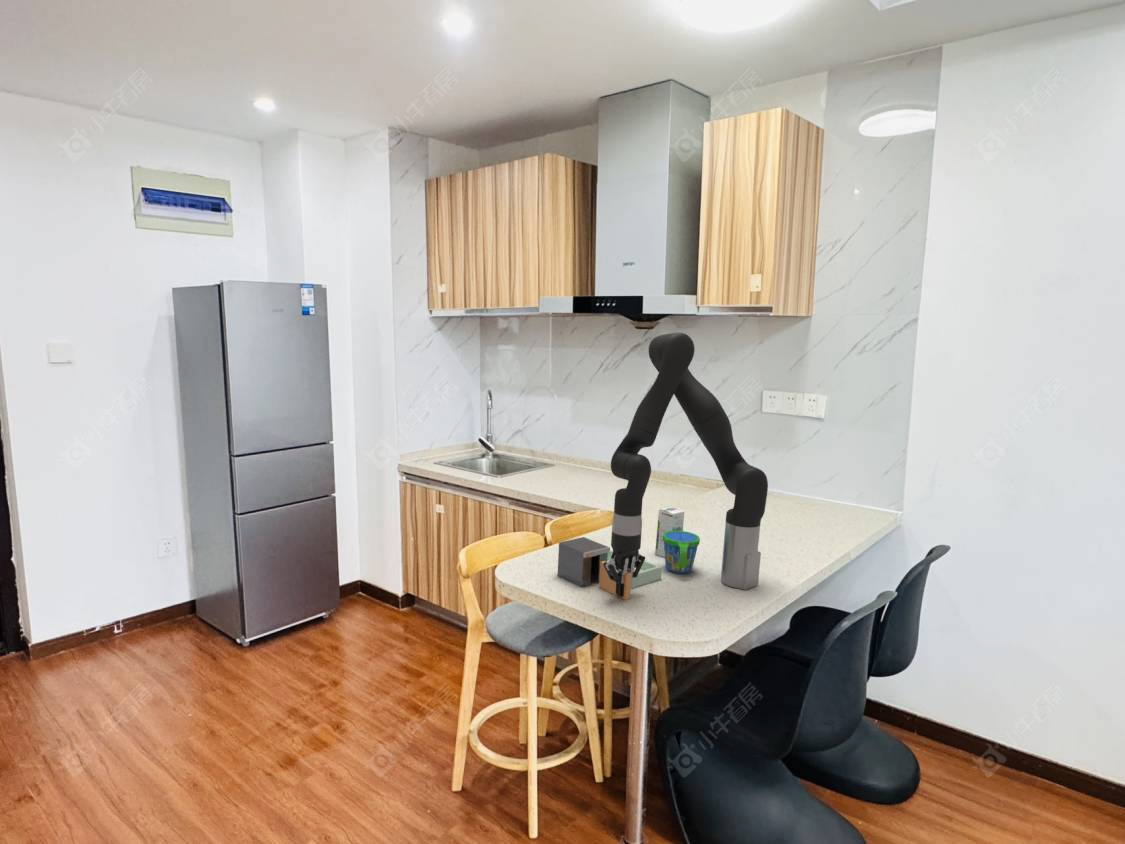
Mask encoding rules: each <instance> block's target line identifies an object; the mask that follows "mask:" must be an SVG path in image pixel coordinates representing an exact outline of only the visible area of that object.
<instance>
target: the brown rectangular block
mask: <svg viewBox="0 0 1125 844" xmlns="http://www.w3.org/2000/svg"><path fill="white" fill-rule="evenodd" d="M605 562H606V561H602V562H600V577H599V582H598V588H599V589H602V590H604V591H607V592H608V593H610V594H612V595H614V596H617V597H618V598H621V599H623V600H630V599H631V590H632V588H631V575H632V572H630V571H627V574H626V575H625V582H624V596H623V597H620V596H618V595H617V594H616V582H615V581H613V580H611V579H610V578H609V576H608V574H607V572H606V570H605V568H604V563H605ZM607 563H608V562H607ZM619 577H620V578H621V575H620V576H619Z"/></svg>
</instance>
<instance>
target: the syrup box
mask: <svg viewBox="0 0 1125 844" xmlns="http://www.w3.org/2000/svg"><path fill="white" fill-rule="evenodd" d="M684 523H685V511H684V510H682V509H680V508H677V507H674V506H673V507H672V506H668V507H665V508H661V509H658V515H657V528H656V539H655V552H654V554H655V555H656V556H659V557H662V558H665V551H664V541H663V534H664V533H665V532H667V531H684Z"/></svg>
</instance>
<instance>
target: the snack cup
mask: <svg viewBox="0 0 1125 844" xmlns="http://www.w3.org/2000/svg"><path fill="white" fill-rule="evenodd" d="M700 540H701V538H700V536H699V535H697V534H695V533H693V532H690V531H685V530H683V531H667V532H665V533H664V534H663V541H664V551H665V557H664V561H665V563H664V564H665V568H666V569H667V570H668V571H669V572H672V573H675V574H688V573H691V572H692V570H693V567H694V563H695V559H696V555H697V551H698V547H699V545H700V542H701V541H700Z"/></svg>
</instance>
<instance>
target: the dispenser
mask: <svg viewBox="0 0 1125 844" xmlns="http://www.w3.org/2000/svg"><path fill="white" fill-rule="evenodd" d="M610 550H611V546H607V545H605V544H602V543H599V542H597V541H594V540H592V539H590V538H587V537H585V536H582V537H578V538H577V537H576V538H574V539H569V540H564V541H560V542H558V558H557V559H558V560H557V576H558V577H559V578H561V579H563V580H566V581H568V582H570V583H572V584H574V585H576V586H578V587H580V588H584V587H588V586H591V580H592V581H594V582H597V583H599V577H600V562H602V561H606V562H607V557H608V552H610Z"/></svg>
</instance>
